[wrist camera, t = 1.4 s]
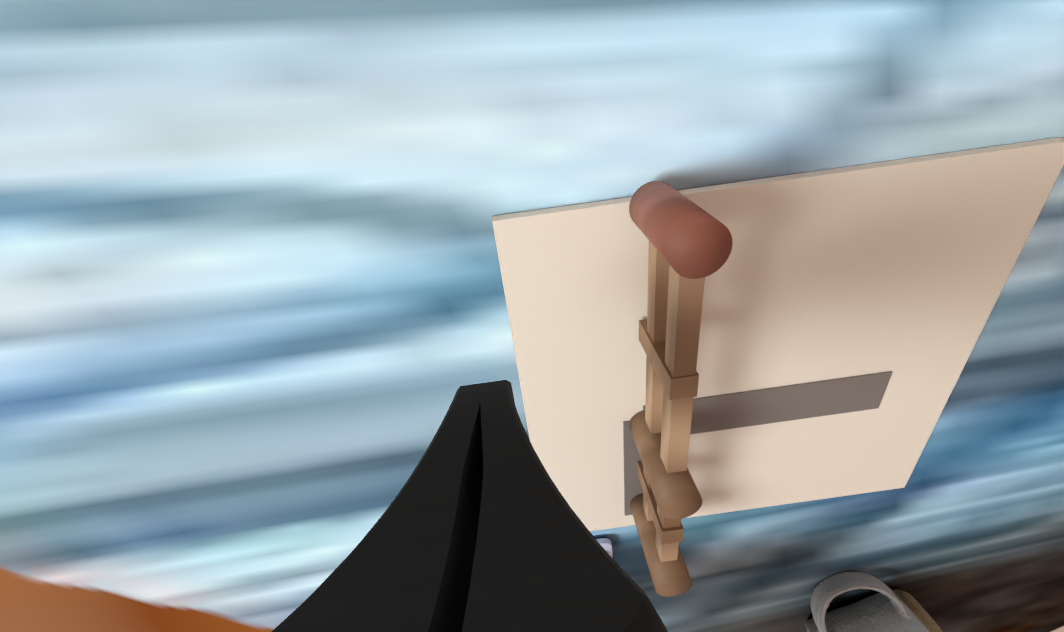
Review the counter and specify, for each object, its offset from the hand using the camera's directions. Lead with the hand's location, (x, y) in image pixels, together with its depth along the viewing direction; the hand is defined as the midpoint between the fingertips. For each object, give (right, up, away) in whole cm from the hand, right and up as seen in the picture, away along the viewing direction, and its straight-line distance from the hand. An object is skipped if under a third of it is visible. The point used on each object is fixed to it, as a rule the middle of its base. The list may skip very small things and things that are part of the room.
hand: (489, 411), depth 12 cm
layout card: (+12, -1, +10) cm, 16 cm away
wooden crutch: (+6, +3, +7) cm, 10 cm away
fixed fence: (+7, -6, +12) cm, 15 cm away
